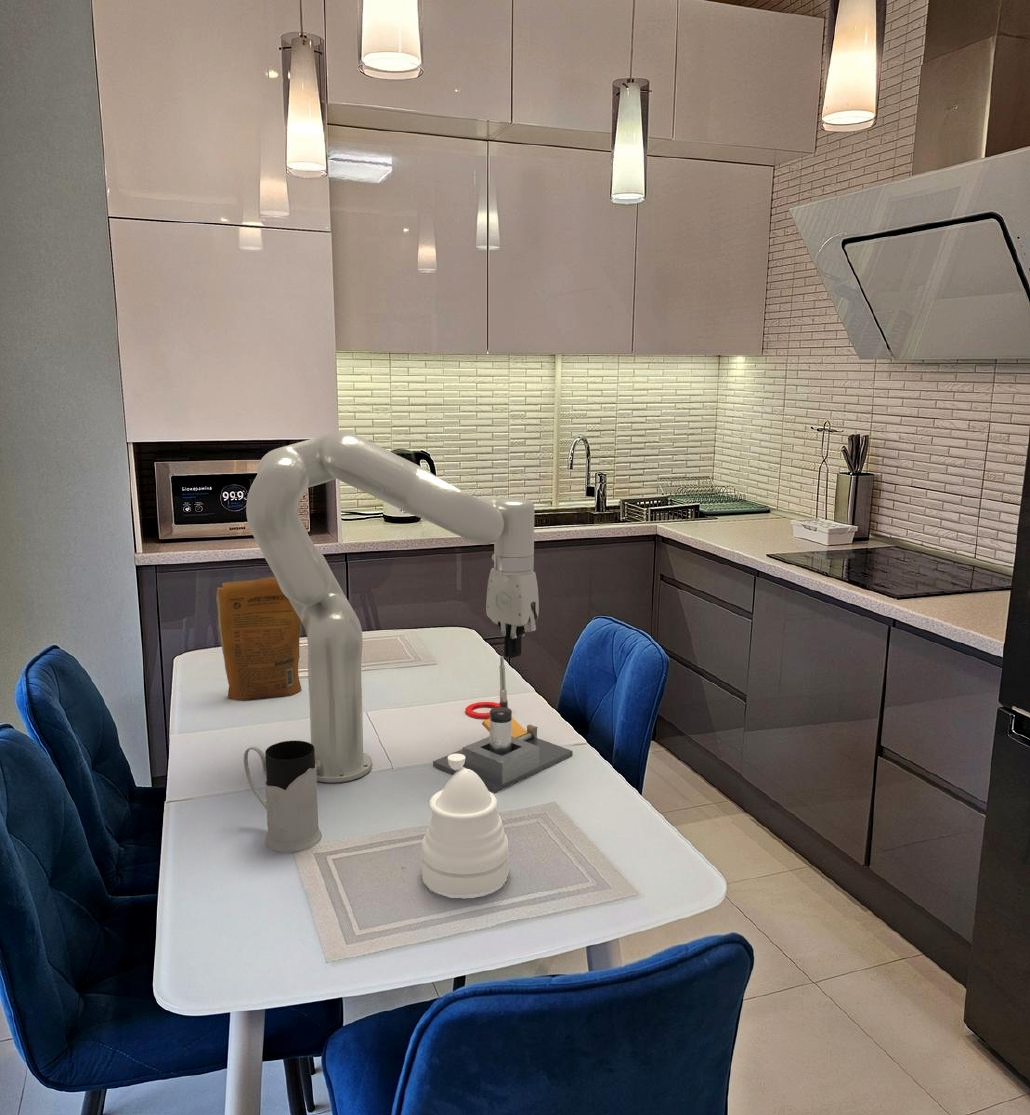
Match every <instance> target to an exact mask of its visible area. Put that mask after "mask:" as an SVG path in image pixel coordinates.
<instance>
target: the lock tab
mask: <svg viewBox="0 0 1030 1115" xmlns="http://www.w3.org/2000/svg"><path fill="white" fill-rule="evenodd" d="M481 725H482V727H484V728H485V729H486V730H487V732H489V733H490V718H486V719H485V720H482V722H481ZM527 733H528V732H527V729H525V728H524V727H523V726H522V725H521V724H520V723H519V722H518V721H517V720H516V719H515V718H514V717H513V716H512V731H511V736H512V737H515V738H517V739H520V740H523V741H525V740H527V739H530V738H531V737H532V735H531V734H530V733H528V734H527Z"/></svg>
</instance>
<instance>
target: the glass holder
mask: <svg viewBox="0 0 1030 1115" xmlns="http://www.w3.org/2000/svg"><path fill="white" fill-rule="evenodd" d="M250 750H253V751H255V752H256V753H257V754H258V755H259V757H260V759H261V766H262V772H263V775H264V776H265V777H266V781H265V799H266V800H265V799H264V797H263V796H262V794H261V793H260V791H259V790H258V788H257V787H256V785H255V783H254V782H255V781H254V780H253V777H252V775H251V771H250V768H249V752H250ZM264 752H265V753H264ZM264 752H263V751H262V750H261V748H259V747H258V746H250V747H248V748H246V750H245V751H244V753H243V766H244V767H243V768H244V773H245V776H246V779H247V782H248V784H249V787H250V788H251V791H252V792H253V794H254V796H256V798H257V799H258V801H259V802H260V804H262V806H263V807H264V808H265V810H266V819H267V820H266V822H267V823H266V824H267V835H266V837H265V841H264V843H265V845H266V847H267V848H268V849H270V850H272V851H274V852H279V853H284V854H285V853H298V852H303V851H305V850H308V849H311V848H312V847H314V846H316V845H317V844H319V842H320V841H321V839H322V836H323V835H322V832H321V830H320V827H319V806H318V781H317V772H316V768H315V748H314V746H313V745H312V744H311V742H308V741H304V740H285V741H280V742H276V743H273V744H272V745H270V746H268V747H267V748H266V749H265V751H264Z"/></svg>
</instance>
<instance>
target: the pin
mask: <svg viewBox="0 0 1030 1115" xmlns="http://www.w3.org/2000/svg"><path fill="white" fill-rule="evenodd" d="M489 712H490V732H489V736H490V751H491V752H493V753H496V754H498V755H501V756H503V755H505V754H507V753H510V752H511V731H512V717H513V716H512V714H513V711H512V709H510V708H505V707H497V708H491V709H490V710H489Z"/></svg>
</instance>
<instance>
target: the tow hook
mask: <svg viewBox="0 0 1030 1115" xmlns="http://www.w3.org/2000/svg"><path fill="white" fill-rule="evenodd" d="M504 657H505V656H502V655H501V656H499V685H500V686H499V687H500V690H499V703H498V702H495V701H479V702H475V703H471V704H469V705H468V706H466V707H465V709H464V710H465V711H464V713H465V715H466V716H468V717H470V718H473V719H482V720H483V719H485V720H486V719H489V718H490V711H489V712H476V711H474V710H477V709H480V708H491V709H493V708H497V707H505V708H508V707H509V702H508V695H507V694H508V690H507V689H506V688H507V686H506V684H507V683H506V665H505V660H504Z"/></svg>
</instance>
